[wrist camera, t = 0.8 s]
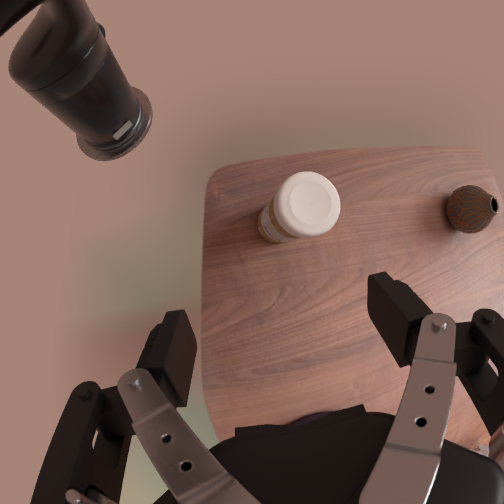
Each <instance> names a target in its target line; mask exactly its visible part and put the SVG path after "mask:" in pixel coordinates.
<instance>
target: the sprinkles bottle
mask: <svg viewBox="0 0 504 504" xmlns="http://www.w3.org/2000/svg"><path fill="white" fill-rule="evenodd" d="M339 213H340V199H339V195H338V193H337V190H336V189H335V187H334V186H333V184H332V183H331V182H330V181H329V180H328V179H327V178H325V177H324V176H322V175H320V174H318V173H314V172H299V173H296V174H294V175H292V176H290V177H289V178H288V179H286V180H285V181H284V182H283V184H282V185H281V186H280V187H279V189H278V190H277V192H276V194H275V196H274V197H273V198H272V200H271V201H270V202H269V203H268V204H267V206H266V207H265V208H264V209H263V210H262V211H261V212H260V214H259V216H258V221H257V225H258V230H259V232H260V233H261V235H262V236H263V237H264V238H265V239H266V240H268V241H269V242H272V243H283V242H286V241H291V240H296V239H299V238H310V237H315V236H318V235H321V234H323V233H325V232H327V231H328V230H330V229H331V228H332V227H333V225H334V224H335V223H336V221H337V219H338V216H339Z"/></svg>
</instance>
